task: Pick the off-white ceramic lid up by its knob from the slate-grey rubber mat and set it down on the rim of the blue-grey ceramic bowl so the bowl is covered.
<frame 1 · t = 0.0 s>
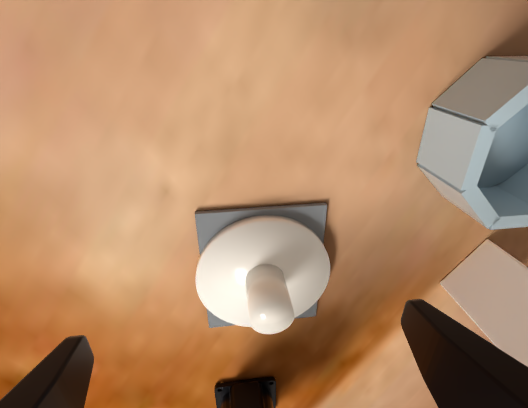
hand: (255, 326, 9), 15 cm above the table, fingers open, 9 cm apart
mat: (262, 268, 27), on the table
bowl: (487, 132, 23), on the table
milk: (478, 271, 31), on the table
lid: (263, 271, 26), resting on mat
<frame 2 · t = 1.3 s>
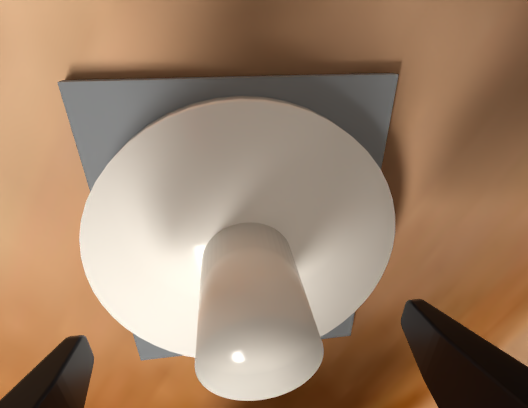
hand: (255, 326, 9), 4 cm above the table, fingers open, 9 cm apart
mat: (244, 238, 12), on the table
lid: (245, 244, 12), resting on mat
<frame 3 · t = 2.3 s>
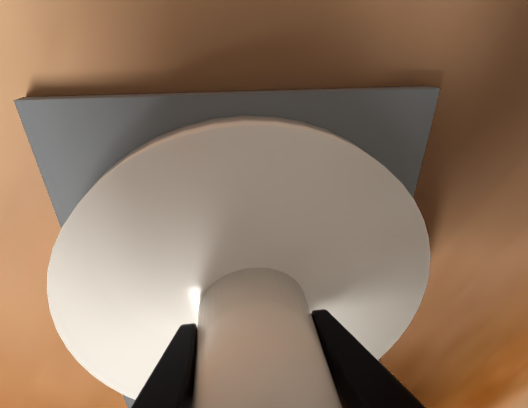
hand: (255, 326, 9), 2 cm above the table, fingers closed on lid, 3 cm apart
mat: (249, 278, 11), on the table
lid: (249, 286, 10), resting on mat, touching gripper
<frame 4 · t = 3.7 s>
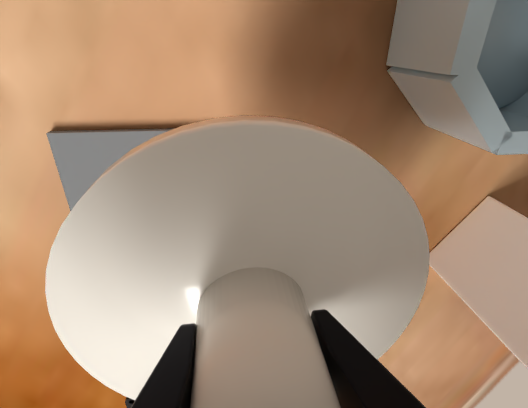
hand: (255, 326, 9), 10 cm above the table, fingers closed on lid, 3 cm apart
mat: (170, 229, 19), on the table
bowl: (491, 22, 16), on the table
milk: (476, 243, 23), on the table
lid: (248, 286, 10), point 9 cm above the table, touching gripper
when the fingers open (8 cm above the table, at t = 5.1 s): lid drops 1 cm, resting on bowl.
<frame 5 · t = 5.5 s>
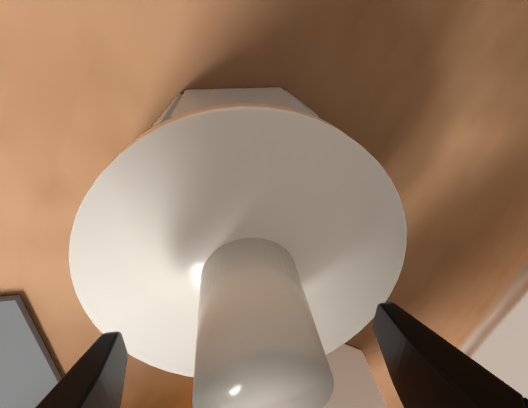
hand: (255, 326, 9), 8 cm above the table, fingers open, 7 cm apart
bowl: (239, 197, 16), on the table
milk: (305, 360, 23), on the table
lid: (246, 258, 11), point 5 cm above the table, touching bowl
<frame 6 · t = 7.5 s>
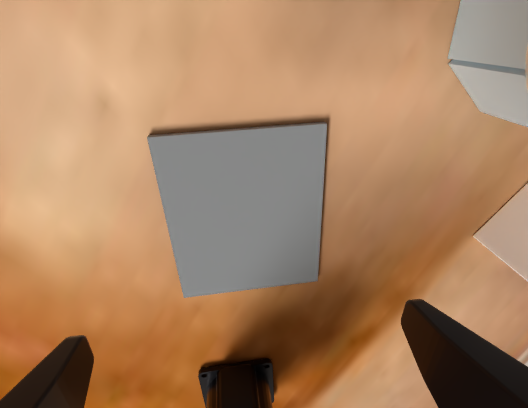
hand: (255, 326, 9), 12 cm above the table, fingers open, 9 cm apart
mat: (246, 218, 21), on the table
milk: (522, 220, 24), on the table
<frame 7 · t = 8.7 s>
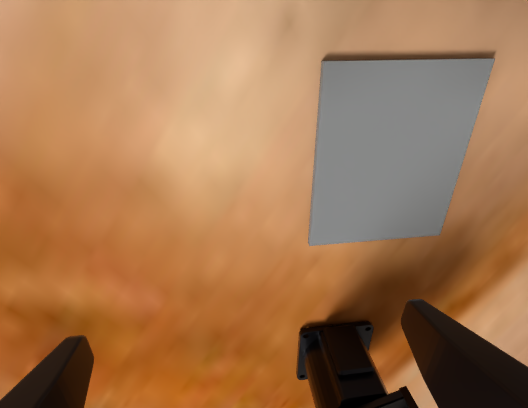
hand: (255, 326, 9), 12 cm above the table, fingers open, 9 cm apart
mat: (388, 160, 20), on the table
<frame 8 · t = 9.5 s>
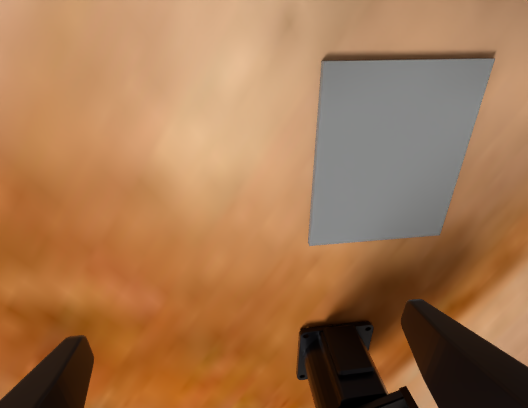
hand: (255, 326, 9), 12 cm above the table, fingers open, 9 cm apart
mat: (388, 160, 20), on the table
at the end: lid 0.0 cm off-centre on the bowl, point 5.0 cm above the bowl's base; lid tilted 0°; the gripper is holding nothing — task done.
